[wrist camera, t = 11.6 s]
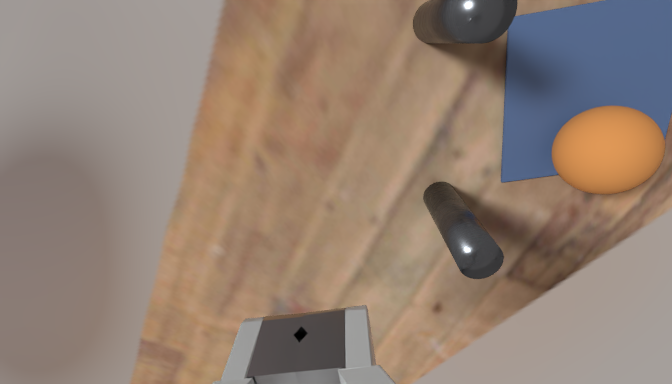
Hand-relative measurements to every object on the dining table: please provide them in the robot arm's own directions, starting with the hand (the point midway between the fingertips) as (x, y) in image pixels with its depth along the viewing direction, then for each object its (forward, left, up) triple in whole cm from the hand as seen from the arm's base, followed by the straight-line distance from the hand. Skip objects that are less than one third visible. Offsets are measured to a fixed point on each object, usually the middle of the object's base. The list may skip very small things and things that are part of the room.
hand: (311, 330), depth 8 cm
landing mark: (0, -19, -19) cm, 27 cm away
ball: (-3, -18, -16) cm, 25 cm away
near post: (+6, -8, -19) cm, 22 cm away
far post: (-7, -8, -19) cm, 22 cm away
